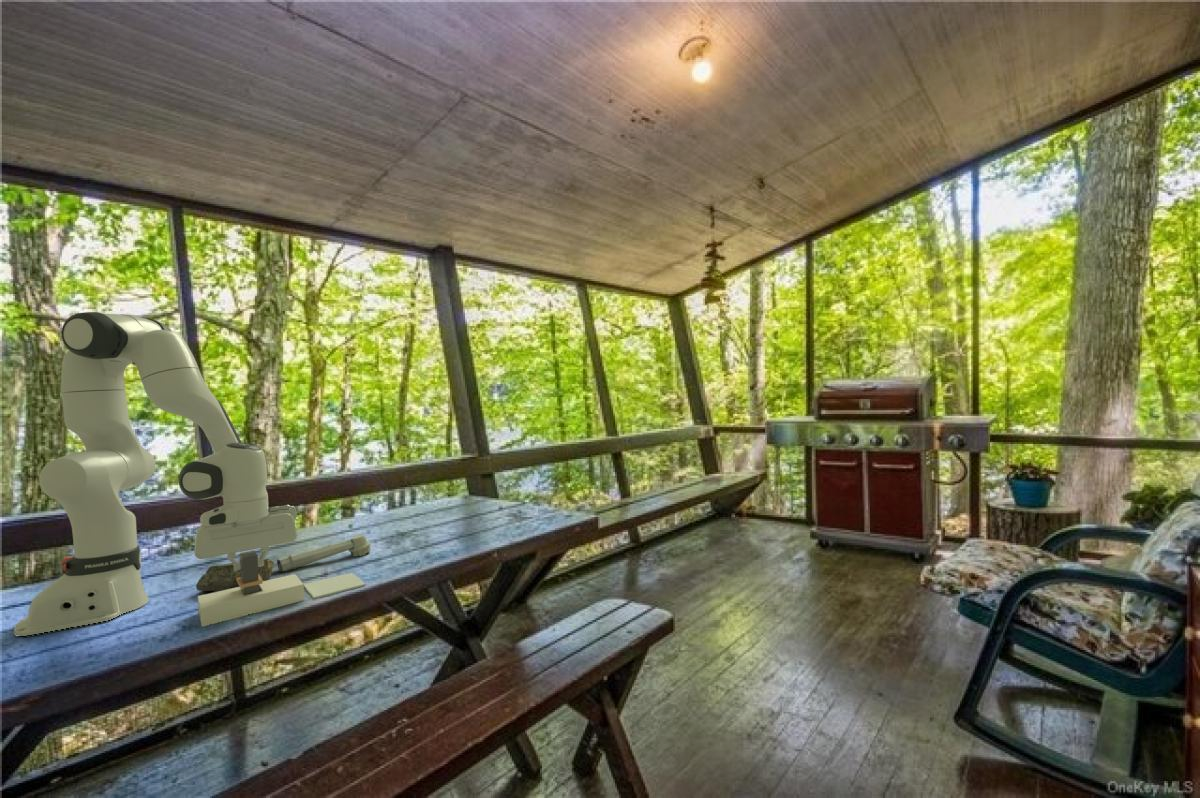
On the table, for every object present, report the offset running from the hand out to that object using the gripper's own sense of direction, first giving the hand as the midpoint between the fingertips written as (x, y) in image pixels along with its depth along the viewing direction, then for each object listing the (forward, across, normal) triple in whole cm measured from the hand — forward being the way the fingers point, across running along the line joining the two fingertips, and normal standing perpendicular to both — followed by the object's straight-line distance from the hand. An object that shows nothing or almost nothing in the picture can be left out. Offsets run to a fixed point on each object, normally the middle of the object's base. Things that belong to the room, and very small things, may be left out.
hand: (249, 568), depth 124 cm
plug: (+8, 0, 0) cm, 8 cm away
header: (+9, 0, 0) cm, 9 cm away
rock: (+10, 0, -20) cm, 23 cm away
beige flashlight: (+10, -22, -24) cm, 34 cm away
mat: (+9, -18, 0) cm, 21 cm away
